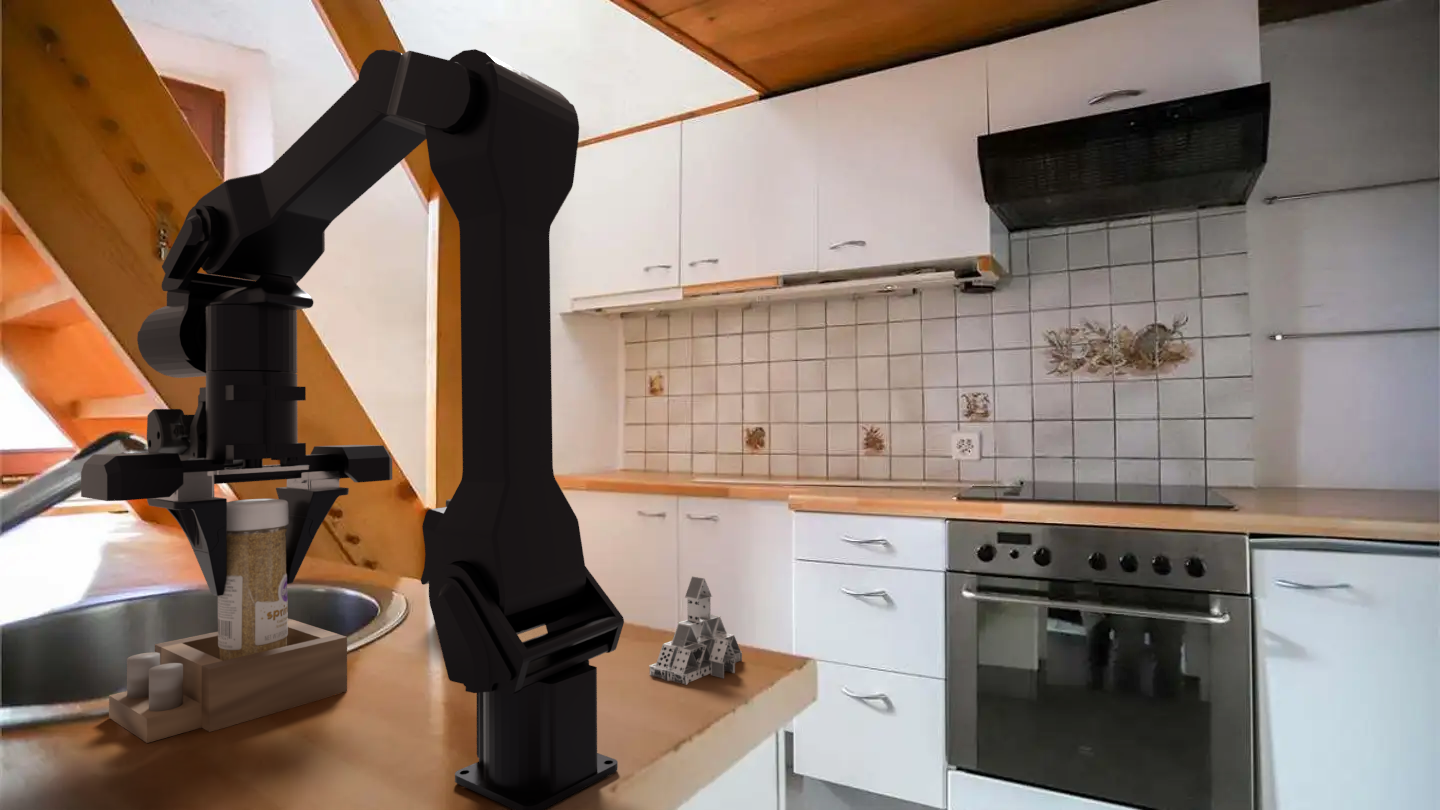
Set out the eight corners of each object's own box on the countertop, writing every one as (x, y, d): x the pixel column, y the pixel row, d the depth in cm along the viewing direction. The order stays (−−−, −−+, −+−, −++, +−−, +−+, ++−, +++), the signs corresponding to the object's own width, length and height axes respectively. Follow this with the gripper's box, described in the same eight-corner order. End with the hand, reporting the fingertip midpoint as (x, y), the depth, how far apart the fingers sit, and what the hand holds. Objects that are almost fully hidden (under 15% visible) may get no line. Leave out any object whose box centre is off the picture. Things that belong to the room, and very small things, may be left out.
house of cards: (722, 715, 53) (721, 601, 53) (631, 688, 59) (630, 585, 59) (795, 680, 60) (794, 580, 60) (707, 659, 66) (707, 567, 66)
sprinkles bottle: (292, 689, 56) (291, 500, 56) (216, 703, 54) (215, 505, 54) (286, 672, 60) (285, 496, 60) (215, 684, 57) (214, 500, 58)
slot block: (347, 691, 57) (347, 636, 58) (154, 748, 48) (154, 682, 48) (286, 667, 63) (286, 617, 63) (102, 713, 54) (103, 654, 54)
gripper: (325, 381, 69) (326, 558, 69) (55, 373, 54) (55, 599, 54) (395, 376, 63) (396, 572, 62) (110, 365, 48) (110, 623, 47)
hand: (253, 589), depth 57 cm, fingers closed on sprinkles bottle, 4 cm apart
